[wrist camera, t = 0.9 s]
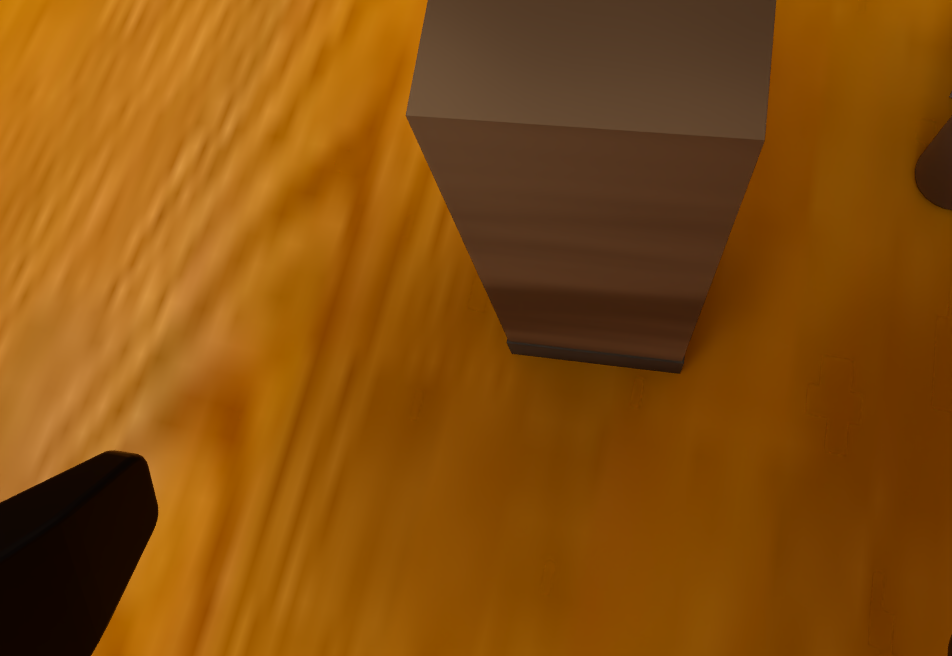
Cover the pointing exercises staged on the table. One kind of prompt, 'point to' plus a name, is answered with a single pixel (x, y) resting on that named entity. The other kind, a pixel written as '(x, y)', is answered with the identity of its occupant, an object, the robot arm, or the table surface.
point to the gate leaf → (937, 169)
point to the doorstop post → (594, 160)
